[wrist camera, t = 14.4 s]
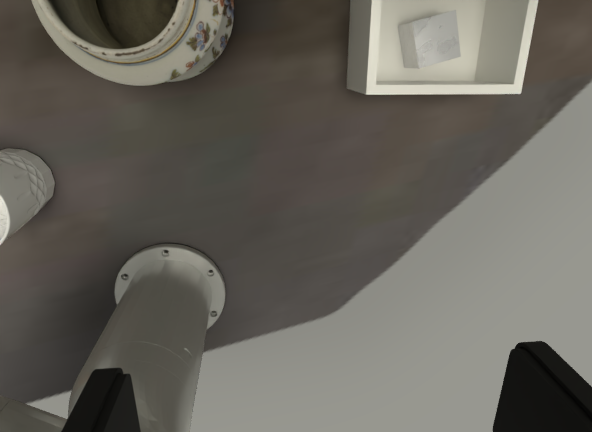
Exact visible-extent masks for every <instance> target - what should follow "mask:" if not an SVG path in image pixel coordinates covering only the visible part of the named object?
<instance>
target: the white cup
mask: <svg viewBox="0 0 592 432" xmlns="http://www.w3.org/2000/svg"><path fill="white" fill-rule="evenodd" d="M54 187H55V181H54V178H53V175H52V172H51V169H50V168H49V167H48V166H47V165H46V164H45V162H44V161H43V160H42V159H41V158H40V157H38V156H36V155H34V154H32V153H30V152H28V151H26V150H23V149H12V148H7V149H4V150H0V245H1V244H2V243H3V242H4V241H6V240H7V239H8V238H9V237H10V236H12V235H13V234H14V233H15V232H16V231H18V230H19V229H20V228H21V227H22V226H24V225H25V224H26V223H27V222H28V221H29V220H30V219H31V218H32V217H33V216H35V215H36V214H37V213H38V212H39V210H40V209H41V208H43V207H44V206H45V205H46V204H47V202H48V201H49V200H50V199H51V198H52V197H53V193H54Z"/></svg>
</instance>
